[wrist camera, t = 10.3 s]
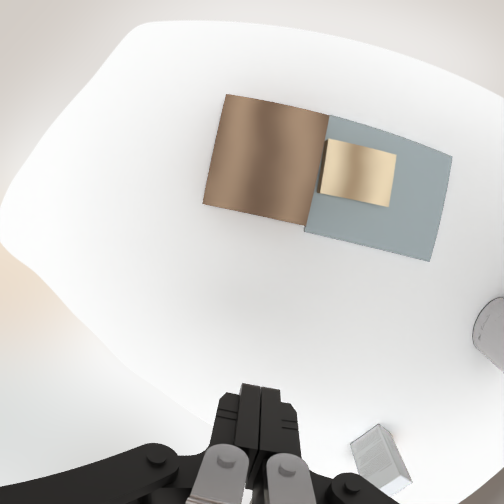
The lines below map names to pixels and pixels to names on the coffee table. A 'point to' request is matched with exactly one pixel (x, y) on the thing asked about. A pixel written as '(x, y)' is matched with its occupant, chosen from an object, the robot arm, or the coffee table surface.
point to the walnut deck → (266, 159)
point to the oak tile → (356, 172)
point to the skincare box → (380, 461)
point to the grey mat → (401, 200)
